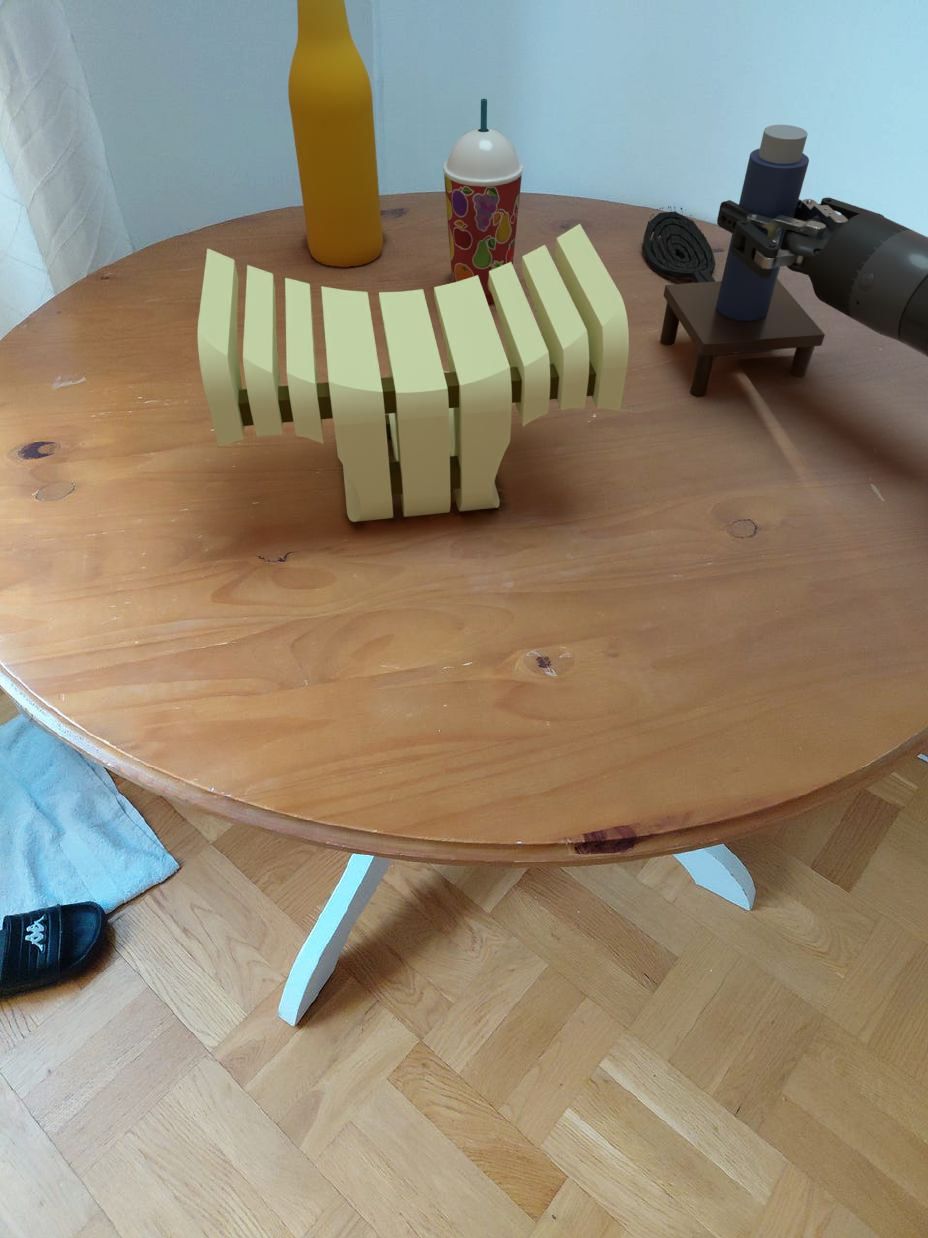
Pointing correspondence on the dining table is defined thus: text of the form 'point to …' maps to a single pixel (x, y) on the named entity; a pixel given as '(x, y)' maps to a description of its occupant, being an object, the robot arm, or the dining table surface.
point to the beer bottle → (334, 138)
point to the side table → (736, 328)
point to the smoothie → (482, 202)
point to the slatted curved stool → (417, 371)
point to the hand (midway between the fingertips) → (745, 205)
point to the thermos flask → (770, 195)
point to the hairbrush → (678, 248)
